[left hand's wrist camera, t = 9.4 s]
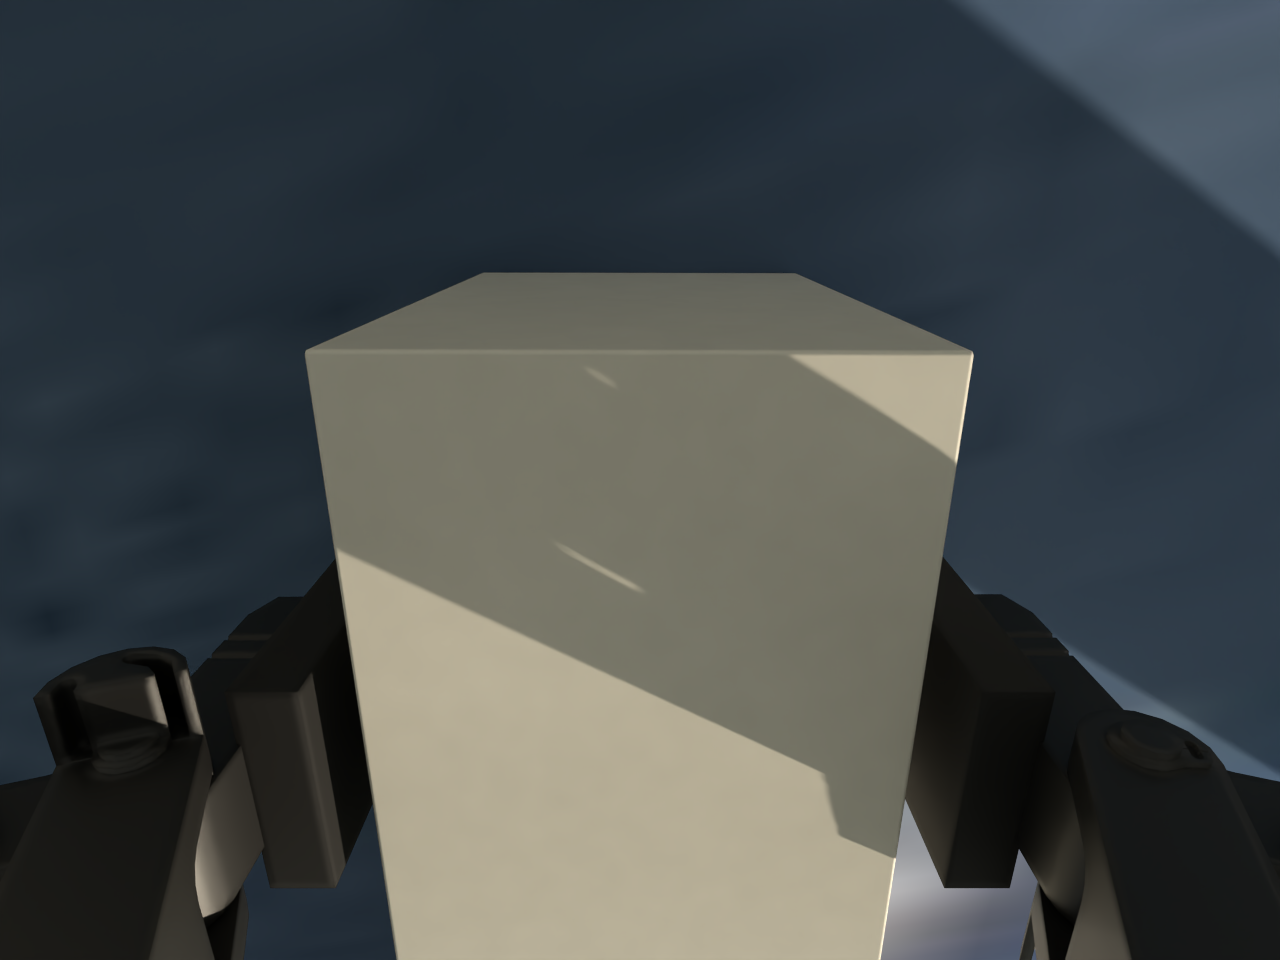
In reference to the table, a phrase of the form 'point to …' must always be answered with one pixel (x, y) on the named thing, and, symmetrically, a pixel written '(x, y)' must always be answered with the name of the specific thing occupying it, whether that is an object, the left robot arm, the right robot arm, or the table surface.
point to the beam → (638, 607)
